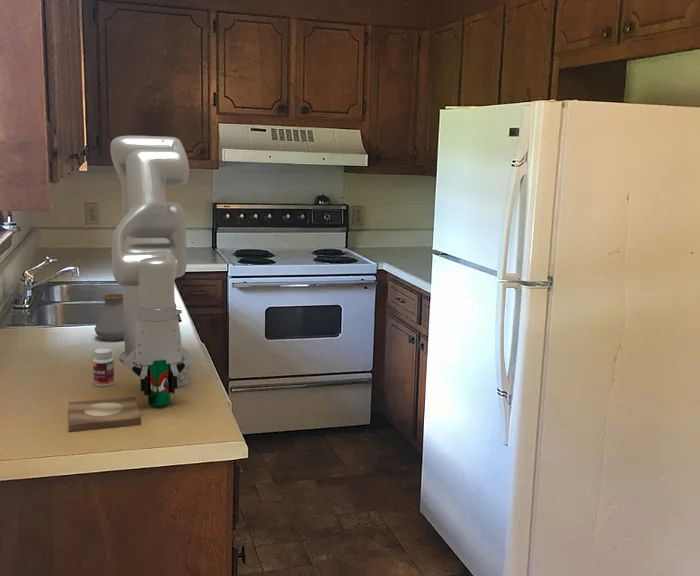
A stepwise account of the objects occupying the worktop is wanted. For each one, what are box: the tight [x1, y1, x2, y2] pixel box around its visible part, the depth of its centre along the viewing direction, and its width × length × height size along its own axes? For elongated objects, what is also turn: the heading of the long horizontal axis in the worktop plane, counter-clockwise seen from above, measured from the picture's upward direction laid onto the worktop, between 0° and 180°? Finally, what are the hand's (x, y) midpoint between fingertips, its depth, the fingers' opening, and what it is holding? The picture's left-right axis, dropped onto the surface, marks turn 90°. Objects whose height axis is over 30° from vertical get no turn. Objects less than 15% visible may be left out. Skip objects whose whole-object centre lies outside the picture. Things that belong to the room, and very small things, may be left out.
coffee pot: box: [94, 293, 125, 342], centre depth 223 cm, size 21×12×15 cm, turn 107°
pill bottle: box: [92, 347, 115, 388], centre depth 179 cm, size 5×5×8 cm
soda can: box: [146, 359, 172, 409], centre depth 165 cm, size 5×5×12 cm
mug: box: [170, 356, 191, 389], centre depth 181 cm, size 10×7×7 cm, turn 86°
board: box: [68, 396, 142, 433], centre depth 158 cm, size 14×14×2 cm
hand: (159, 392), depth 166 cm, fingers closed on soda can, 5 cm apart
